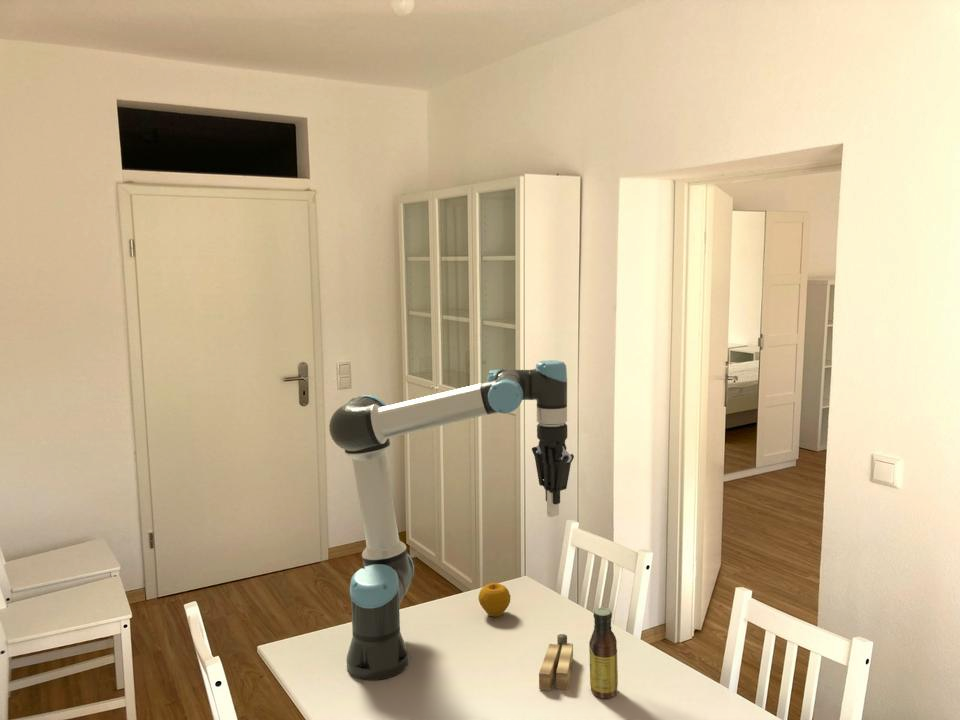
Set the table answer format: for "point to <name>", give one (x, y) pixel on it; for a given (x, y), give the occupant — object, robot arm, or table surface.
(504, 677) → the table surface
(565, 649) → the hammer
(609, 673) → the sauce bottle
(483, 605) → the apple
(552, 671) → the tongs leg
